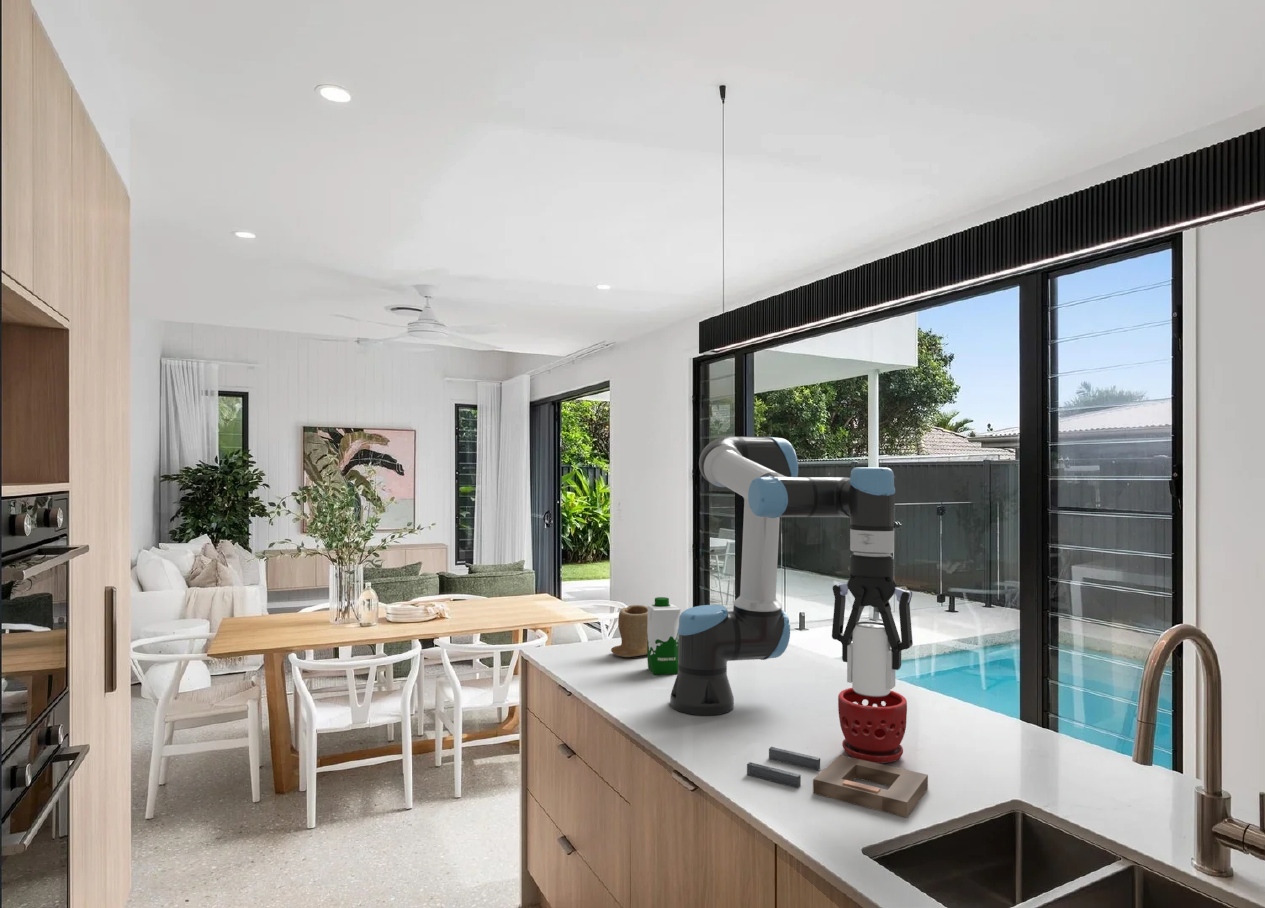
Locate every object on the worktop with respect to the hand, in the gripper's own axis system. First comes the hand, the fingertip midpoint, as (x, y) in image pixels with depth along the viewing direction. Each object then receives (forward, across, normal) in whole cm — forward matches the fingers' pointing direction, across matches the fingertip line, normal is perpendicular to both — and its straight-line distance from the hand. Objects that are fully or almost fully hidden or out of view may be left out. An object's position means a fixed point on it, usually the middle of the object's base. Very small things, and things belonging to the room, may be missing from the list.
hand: (871, 683), depth 136 cm
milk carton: (+19, -72, +46) cm, 87 cm away
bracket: (+19, -16, -1) cm, 25 cm away
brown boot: (+19, -88, +57) cm, 107 cm away
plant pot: (+19, -5, +17) cm, 26 cm away
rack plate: (+19, 0, 0) cm, 19 cm away
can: (+2, 0, 0) cm, 2 cm away
